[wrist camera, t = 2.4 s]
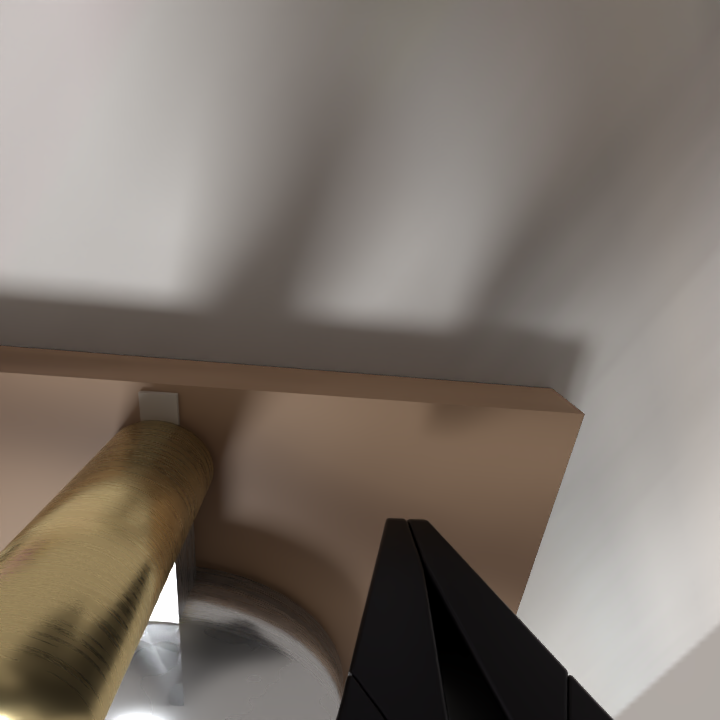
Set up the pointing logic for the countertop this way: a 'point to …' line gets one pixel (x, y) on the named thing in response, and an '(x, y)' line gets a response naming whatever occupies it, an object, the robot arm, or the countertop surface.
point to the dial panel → (303, 464)
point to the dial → (148, 604)
